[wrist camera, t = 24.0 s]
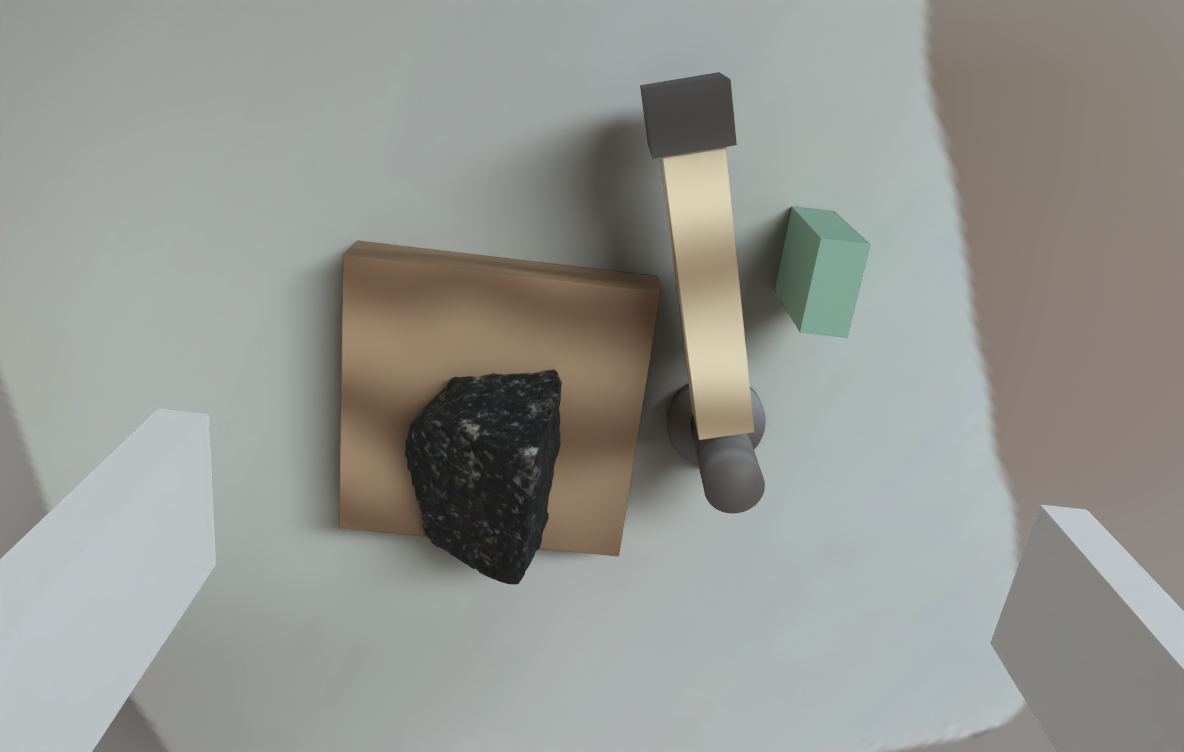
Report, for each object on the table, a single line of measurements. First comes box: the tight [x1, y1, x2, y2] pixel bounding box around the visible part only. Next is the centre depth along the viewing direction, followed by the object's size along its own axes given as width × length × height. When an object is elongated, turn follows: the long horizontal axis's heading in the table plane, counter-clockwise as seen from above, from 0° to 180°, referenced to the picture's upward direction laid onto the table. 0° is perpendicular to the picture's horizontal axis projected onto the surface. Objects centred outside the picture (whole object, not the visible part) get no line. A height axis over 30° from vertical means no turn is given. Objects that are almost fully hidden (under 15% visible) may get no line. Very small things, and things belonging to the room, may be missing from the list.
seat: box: [339, 241, 765, 556], centre depth 42 cm, size 14×20×7 cm
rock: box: [405, 369, 562, 584], centre depth 41 cm, size 7×10×6 cm
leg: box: [640, 72, 754, 440], centre depth 38 cm, size 15×3×3 cm, turn 9°
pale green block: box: [774, 206, 870, 338], centre depth 39 cm, size 4×2×6 cm, turn 173°
